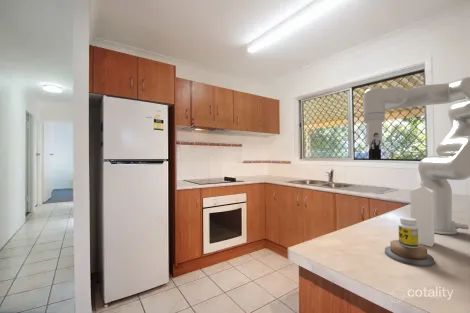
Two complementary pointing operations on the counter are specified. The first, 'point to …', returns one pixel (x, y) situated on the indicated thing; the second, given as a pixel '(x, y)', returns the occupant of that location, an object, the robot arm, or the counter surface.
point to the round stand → (409, 254)
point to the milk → (423, 213)
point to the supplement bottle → (408, 232)
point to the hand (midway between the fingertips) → (374, 159)
